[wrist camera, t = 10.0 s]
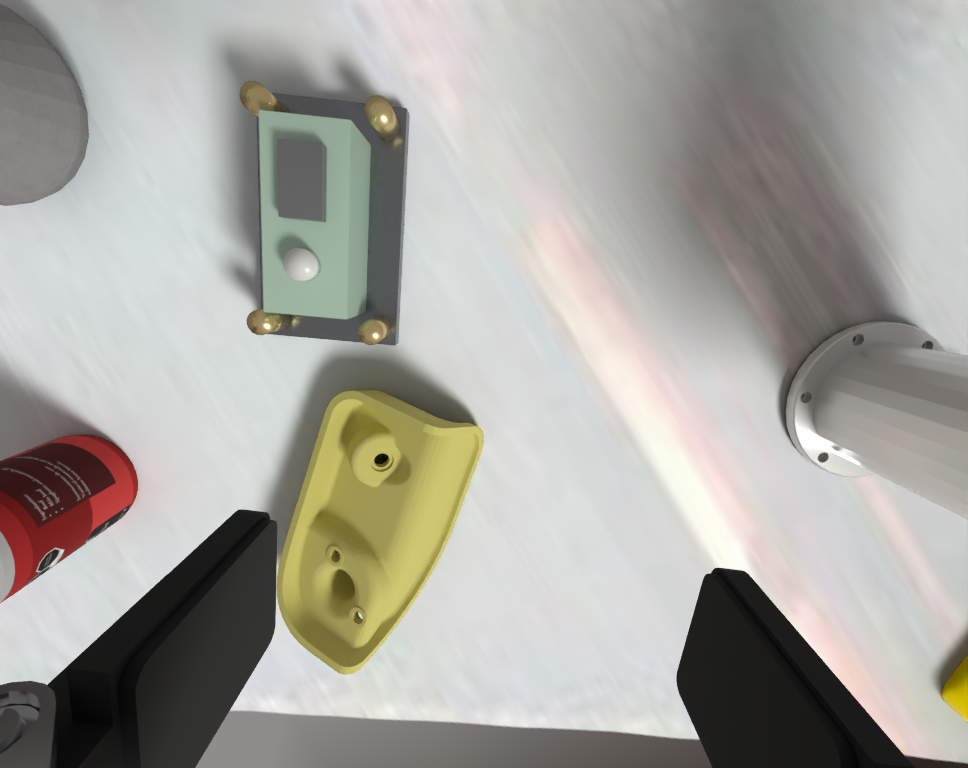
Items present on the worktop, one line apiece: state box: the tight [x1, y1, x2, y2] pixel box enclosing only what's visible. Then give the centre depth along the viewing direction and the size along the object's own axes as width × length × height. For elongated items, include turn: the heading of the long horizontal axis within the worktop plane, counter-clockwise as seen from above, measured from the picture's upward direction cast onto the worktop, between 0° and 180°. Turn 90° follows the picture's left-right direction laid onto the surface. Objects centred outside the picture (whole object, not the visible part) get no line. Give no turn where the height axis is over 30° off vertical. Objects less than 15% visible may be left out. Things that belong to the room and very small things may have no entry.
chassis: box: [240, 81, 409, 345], centre depth 30 cm, size 10×16×4 cm, turn 174°
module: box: [259, 110, 371, 319], centre depth 28 cm, size 5×11×6 cm, turn 175°
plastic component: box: [277, 390, 484, 675], centre depth 35 cm, size 20×7×10 cm
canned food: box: [0, 435, 138, 603], centre depth 31 cm, size 8×8×11 cm
